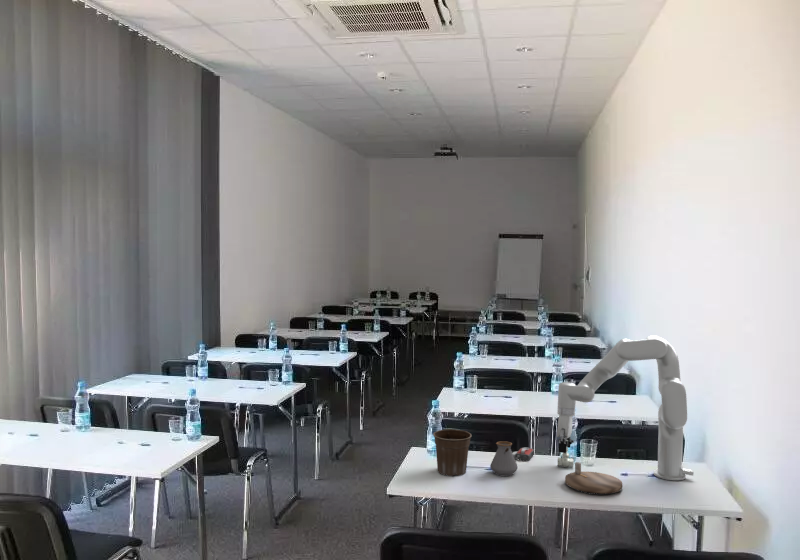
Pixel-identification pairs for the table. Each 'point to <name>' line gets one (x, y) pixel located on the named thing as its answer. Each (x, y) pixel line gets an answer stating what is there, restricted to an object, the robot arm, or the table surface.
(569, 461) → the valve
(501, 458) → the coffee pot
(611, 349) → the robot arm
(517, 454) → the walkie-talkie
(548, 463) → the table surface
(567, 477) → the turntable platter
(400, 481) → the table surface
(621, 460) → the table surface
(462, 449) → the plant pot
